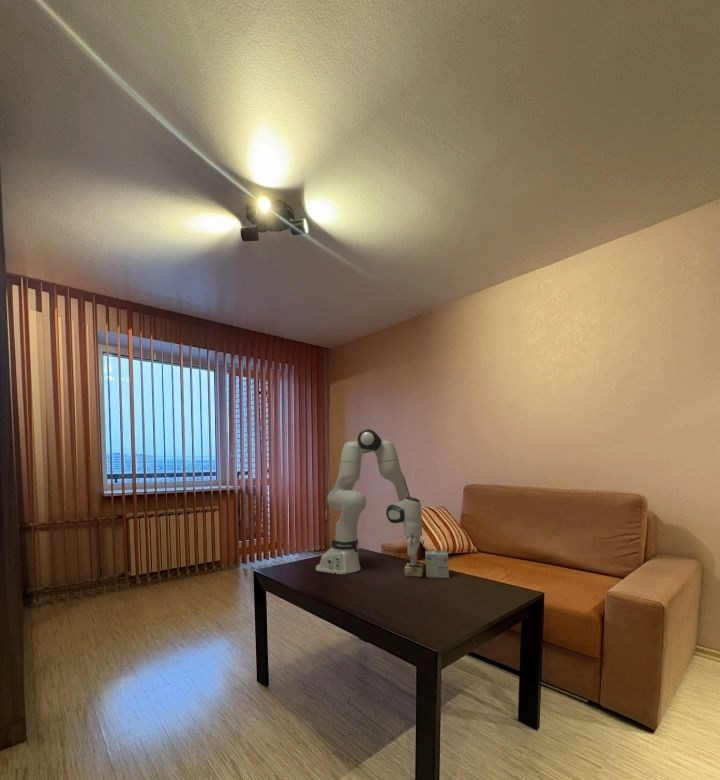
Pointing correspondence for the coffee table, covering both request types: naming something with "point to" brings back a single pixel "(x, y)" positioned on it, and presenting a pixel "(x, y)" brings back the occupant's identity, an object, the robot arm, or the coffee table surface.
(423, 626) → the coffee table surface
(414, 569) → the hole block
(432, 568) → the light bulb box
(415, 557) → the peg
